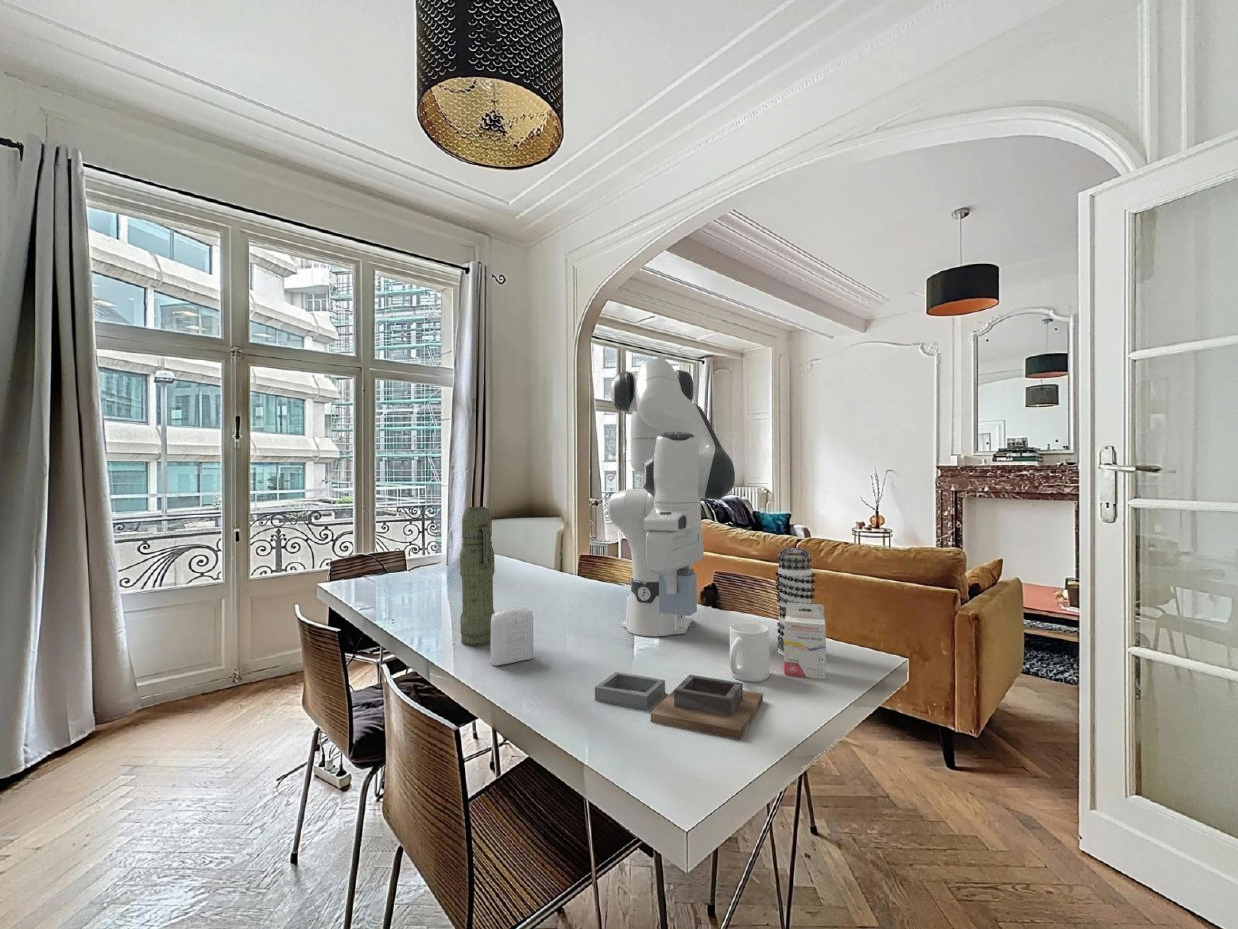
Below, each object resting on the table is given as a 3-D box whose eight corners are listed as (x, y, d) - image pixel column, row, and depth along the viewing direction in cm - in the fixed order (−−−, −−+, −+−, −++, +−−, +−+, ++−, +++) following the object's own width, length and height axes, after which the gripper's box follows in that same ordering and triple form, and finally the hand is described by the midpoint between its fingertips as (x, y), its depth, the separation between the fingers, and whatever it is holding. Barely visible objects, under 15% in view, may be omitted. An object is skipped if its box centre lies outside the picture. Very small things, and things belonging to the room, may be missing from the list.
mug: (749, 691, 113) (748, 639, 113) (713, 681, 119) (712, 632, 119) (776, 674, 122) (775, 626, 122) (742, 666, 128) (741, 620, 128)
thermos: (480, 632, 156) (479, 505, 157) (505, 641, 148) (503, 507, 148) (451, 639, 150) (449, 507, 150) (475, 649, 142) (473, 509, 142)
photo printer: (528, 654, 138) (528, 603, 138) (536, 659, 134) (535, 606, 134) (488, 662, 132) (487, 609, 132) (494, 668, 128) (494, 613, 128)
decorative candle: (816, 661, 130) (815, 552, 130) (774, 657, 133) (773, 550, 133) (816, 649, 139) (815, 547, 139) (777, 645, 142) (775, 545, 142)
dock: (683, 687, 116) (683, 665, 116) (763, 701, 108) (762, 677, 108) (650, 721, 100) (650, 696, 100) (740, 739, 93) (739, 712, 93)
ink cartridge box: (783, 675, 122) (783, 606, 122) (785, 667, 126) (784, 601, 126) (826, 680, 119) (825, 609, 119) (826, 671, 124) (825, 604, 124)
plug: (667, 608, 110) (667, 566, 110) (696, 611, 107) (696, 569, 107) (659, 612, 106) (658, 569, 106) (689, 616, 103) (689, 572, 104)
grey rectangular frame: (615, 684, 118) (615, 671, 118) (665, 692, 113) (664, 680, 113) (594, 700, 110) (594, 687, 110) (646, 710, 105) (646, 696, 105)
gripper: (681, 513, 118) (682, 580, 117) (639, 521, 99) (640, 600, 99) (710, 514, 115) (711, 582, 114) (672, 522, 97) (673, 603, 96)
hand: (678, 591), depth 107 cm, fingers closed on plug, 4 cm apart
